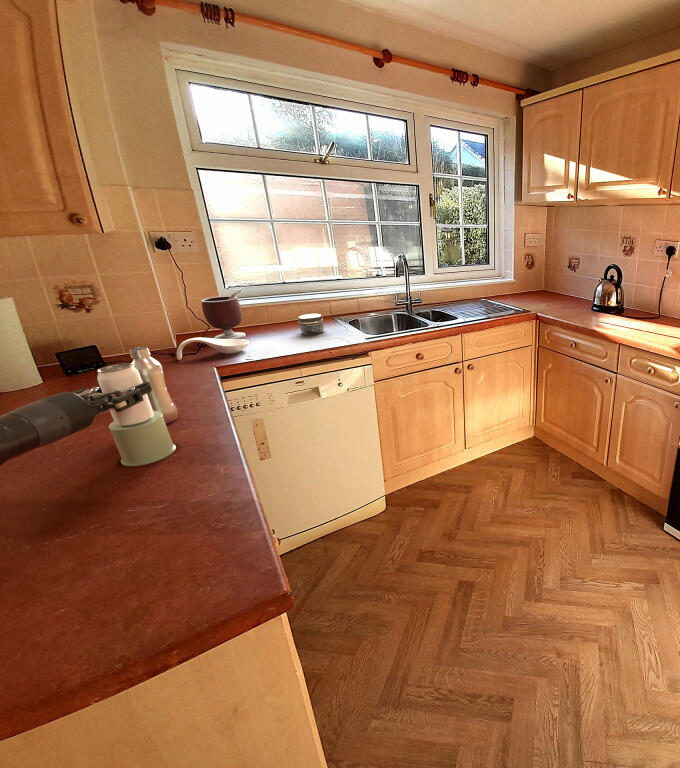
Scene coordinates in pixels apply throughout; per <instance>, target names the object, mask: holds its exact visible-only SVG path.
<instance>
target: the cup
mask: <svg viewBox="0 0 680 768" xmlns="http://www.w3.org/2000/svg"><path fill="white" fill-rule="evenodd" d="M153 413H154V415H153V417H152V418H151V419H150V420H148V421H146V422H143V423H140V424H136V425H132V426H118V425H116V424H115V422H114V421H112V422H111V423H110V424H108V430H109V432H110V435H111V437H112V439H113V442H114V445H115V446H116V448H117V451H118V453H119V456H120V458H121V459H120V463H121V465H123V466H124V467H139V466H145V465H149V464H152V463H155V462H159V461H161V460H163V459H165V458H168V457H169V456H171V455H172V454H173V453H175V451H176V450H177V446H176V443H174V442H173V439H172V437H171V435H170V434H171V433H170V431H169V429H168V425H167V424H166V423H165V420H164V417H163V415H162V413H161V412H158V411H153Z"/></svg>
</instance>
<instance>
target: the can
mask: <svg viewBox="0 0 680 768" xmlns="http://www.w3.org/2000/svg"><path fill="white" fill-rule="evenodd" d="M131 363H132V362H131ZM131 363H129V362H124V363H117V364H112V365H111V364H110V365H108V366H103V367H100V368H98V369H97V370H96V372H97V378H96V379H97V383H98V385H99V388H100V387H101V390H102V392H107V391H111V390H114V389H117V390H119V391H120V390H124V389H128V388H131V387H134V386H137V385H139V384H141V383H143V382H142V380H141V377H140V374H139V372H138V370H137V369H136V368H134V366H133V364H131ZM124 394H125V393H124ZM122 395H123V394H122ZM111 396H112V398H113V399H114V398H115V397H116V396H115V394H112V395H111ZM142 397H143V400H144V401H142V402H140V403H138V404H136V405H134V406H132V407H130V408H128V409H126V410H124V411H122V412H116V411H115V409H111V410H109V412H110V414H111V417H112V419H113V422H115V424H116V425H118V426H132V425H136V424H140V423H143V422H146V421H148V420H150V419H151V418H152V417H153V415H154V413H153V410H152V407H151V404H150V401H149V399H148V396H147V394H145V395H142Z"/></svg>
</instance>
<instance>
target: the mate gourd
mask: <svg viewBox="0 0 680 768" xmlns="http://www.w3.org/2000/svg"><path fill="white" fill-rule="evenodd" d="M239 293H242V291H241V290H237V291H235V292H234V293H232V294H231V295H223V296H213V297H208V298H203V299H201V310H202V313H203V316H204V318H205V320H206V322H207V324H209V325H210V326H211V327H212V328H214V329H219V330H223V331H224V332H223V333H221V334H218V335H215V336H214V337H212V338H213V339H243V338H244V337H246V335H247V334H246V333H245V332H240V331H233V330H232V329H234V328H236V327H237V326H239V325H240V324H241V322H242V320H243V311H242V307H241V304H240V301H239V299H238V297H237V295H238V294H239Z"/></svg>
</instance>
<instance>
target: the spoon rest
mask: <svg viewBox="0 0 680 768" xmlns="http://www.w3.org/2000/svg"><path fill="white" fill-rule="evenodd" d="M192 343H202V344H205V345H207V346H209V347H210V348H212V349H214V350H216V351H218V352H220V353H222V354H224V355H230V354H231V355H233V354H238V353H240V352H242V351H243V350H245V349H246V348H247V347H248V345H249V344H250V342H249V340H247V339H243V338H240V339H213V337H191V338H188V339H186V340H184V341H182V342H181V343H180V344H179V346H178V348H177V350H176V359H177V360H178V361H181V360H182V359H183V349H184V347H186V346H187V345H189V344H192Z"/></svg>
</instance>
